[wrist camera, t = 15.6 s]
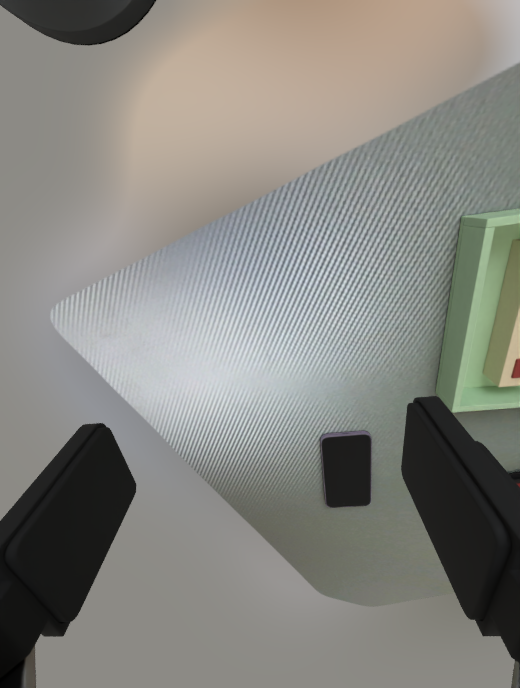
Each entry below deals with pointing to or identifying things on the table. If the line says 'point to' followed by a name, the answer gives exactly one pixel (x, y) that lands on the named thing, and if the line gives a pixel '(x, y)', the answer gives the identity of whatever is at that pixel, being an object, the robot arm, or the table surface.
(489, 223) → the bin
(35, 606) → the robot arm
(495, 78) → the table surface
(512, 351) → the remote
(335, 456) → the smartphone
